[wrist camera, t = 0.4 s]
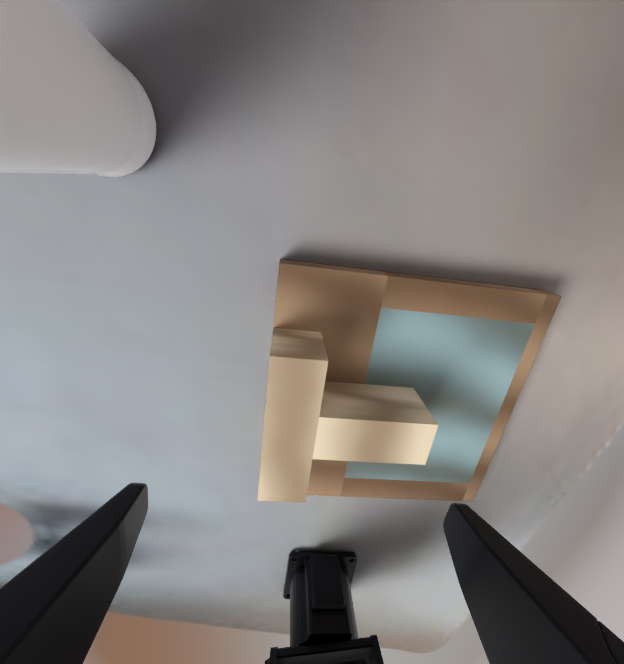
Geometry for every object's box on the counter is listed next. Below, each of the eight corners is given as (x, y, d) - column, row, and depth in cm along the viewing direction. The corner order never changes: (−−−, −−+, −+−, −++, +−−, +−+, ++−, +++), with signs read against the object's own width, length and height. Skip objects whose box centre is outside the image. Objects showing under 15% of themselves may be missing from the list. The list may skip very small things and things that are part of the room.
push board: (464, 486, 28) (473, 501, 26) (260, 477, 26) (259, 493, 24) (543, 290, 21) (561, 296, 20) (280, 259, 19) (279, 263, 18)
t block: (262, 453, 23) (257, 500, 19) (273, 327, 19) (269, 355, 16) (392, 460, 24) (411, 505, 20) (426, 342, 20) (456, 371, 17)
